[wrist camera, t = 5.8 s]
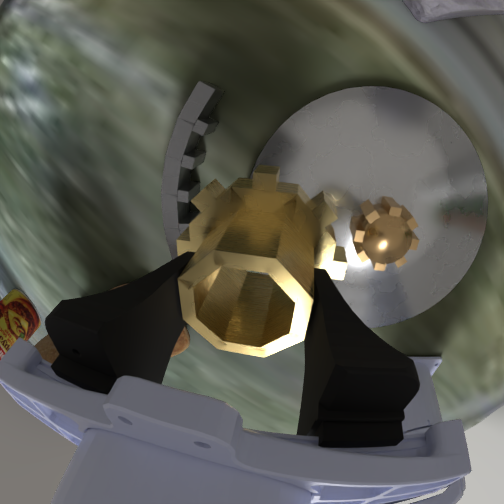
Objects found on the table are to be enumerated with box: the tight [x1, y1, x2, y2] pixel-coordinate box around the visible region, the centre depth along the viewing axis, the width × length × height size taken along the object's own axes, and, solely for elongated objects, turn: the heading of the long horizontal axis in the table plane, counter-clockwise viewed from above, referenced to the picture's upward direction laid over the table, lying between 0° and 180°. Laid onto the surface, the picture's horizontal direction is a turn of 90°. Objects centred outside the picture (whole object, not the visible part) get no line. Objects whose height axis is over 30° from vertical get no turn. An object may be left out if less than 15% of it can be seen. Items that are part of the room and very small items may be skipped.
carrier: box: [161, 81, 488, 328], centre depth 18 cm, size 20×26×4 cm
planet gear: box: [176, 165, 348, 357], centre depth 13 cm, size 8×8×5 cm
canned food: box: [0, 289, 41, 360], centre depth 30 cm, size 8×8×12 cm
